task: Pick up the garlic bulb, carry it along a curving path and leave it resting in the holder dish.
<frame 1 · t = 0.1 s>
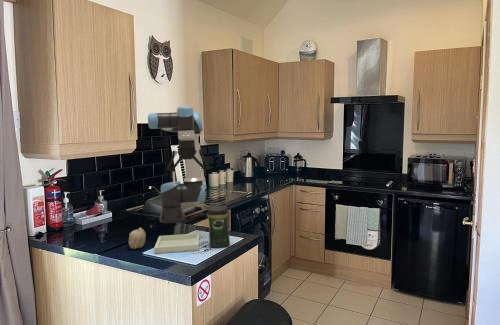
hand: (189, 184, 183), 28 cm above the worktop, tool pointing down, fingers open, 13 cm apart
holder dish: (178, 245, 180), on the worktop
coffee jar: (219, 245, 178), on the worktop
garlic bulb: (137, 248, 179), on the worktop
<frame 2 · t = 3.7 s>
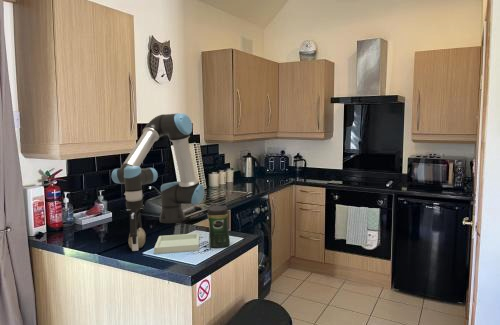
hand: (137, 247, 179), 0 cm above the worktop, tool pointing down, fingers closed on garlic bulb, 9 cm apart
garlic bulb: (137, 248, 179), on the worktop, touching gripper
everything else where it was.
when the fingers open (2 cm above the worktop, at t = 10.3 s): garlic bulb drops 1 cm, resting on holder dish.
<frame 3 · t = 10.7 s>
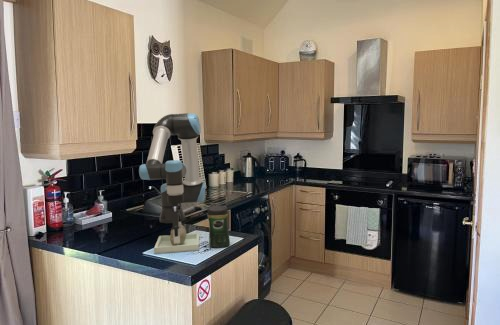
hand: (177, 239, 179), 3 cm above the worktop, tool pointing down, fingers open, 13 cm apart
garlic bulb: (178, 245, 179), resting on holder dish
everything else where it was.
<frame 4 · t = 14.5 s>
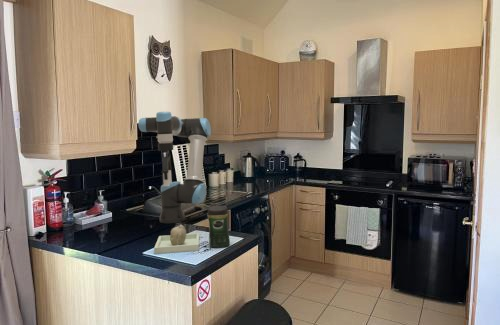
hand: (167, 184, 196), 27 cm above the worktop, tool pointing down, fingers open, 13 cm apart
nothing on the worktop moved.
at the end: garlic bulb inside the target area on the holder dish (0.2 cm from its centre), point 0.4 cm above the holder dish's base; the gripper is holding nothing; coffee jar moved 0.2 cm from its start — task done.
